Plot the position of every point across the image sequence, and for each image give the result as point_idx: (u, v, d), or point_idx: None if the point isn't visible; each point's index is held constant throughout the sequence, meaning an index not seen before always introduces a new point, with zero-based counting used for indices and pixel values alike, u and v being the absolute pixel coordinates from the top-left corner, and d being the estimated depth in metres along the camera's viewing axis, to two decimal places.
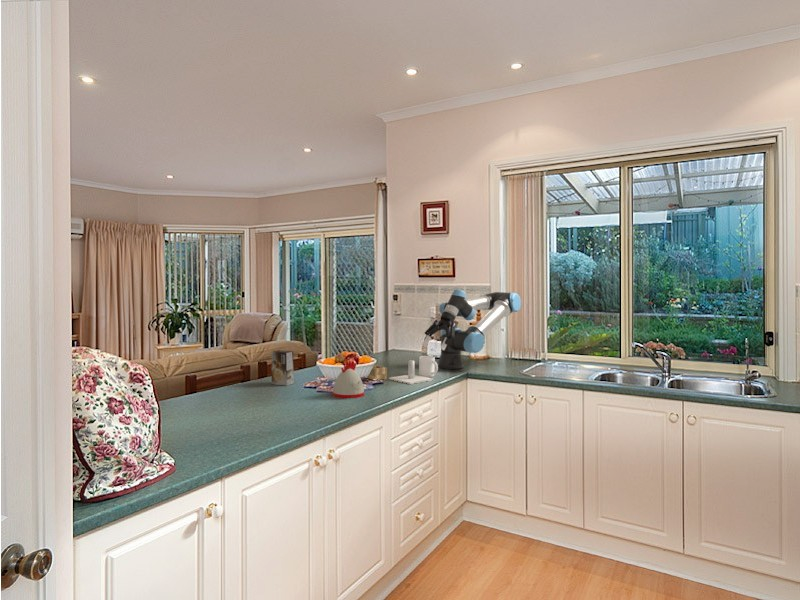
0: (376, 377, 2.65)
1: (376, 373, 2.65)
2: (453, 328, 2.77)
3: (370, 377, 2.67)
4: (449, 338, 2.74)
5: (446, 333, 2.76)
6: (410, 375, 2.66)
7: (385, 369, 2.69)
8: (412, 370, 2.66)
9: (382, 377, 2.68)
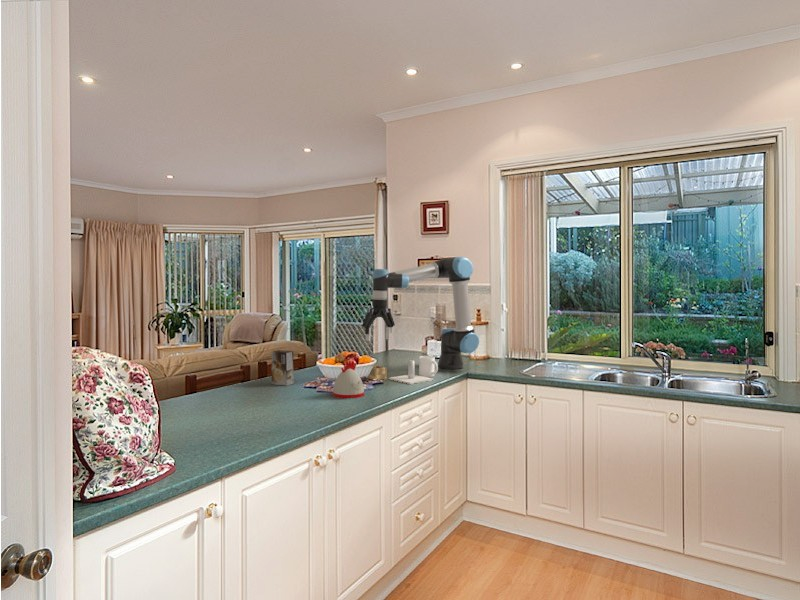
0: (376, 377, 2.65)
1: (376, 373, 2.65)
2: (367, 315, 2.63)
3: (370, 377, 2.67)
4: (365, 327, 2.63)
5: None
6: (410, 375, 2.66)
7: (385, 369, 2.69)
8: (412, 370, 2.66)
9: (382, 377, 2.68)
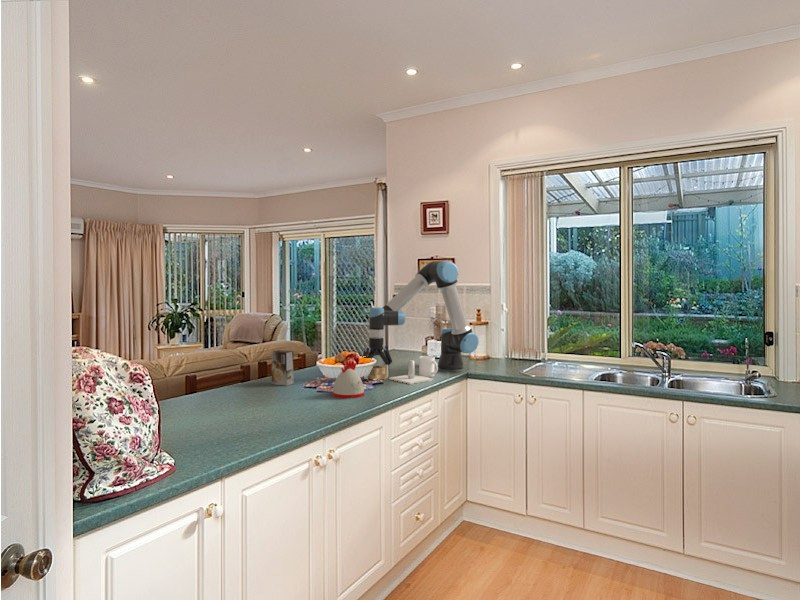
0: (376, 377, 2.65)
1: (376, 373, 2.65)
2: (364, 354, 2.64)
3: (370, 377, 2.67)
4: None
5: None
6: (410, 375, 2.66)
7: (385, 369, 2.69)
8: (412, 370, 2.66)
9: (382, 377, 2.68)
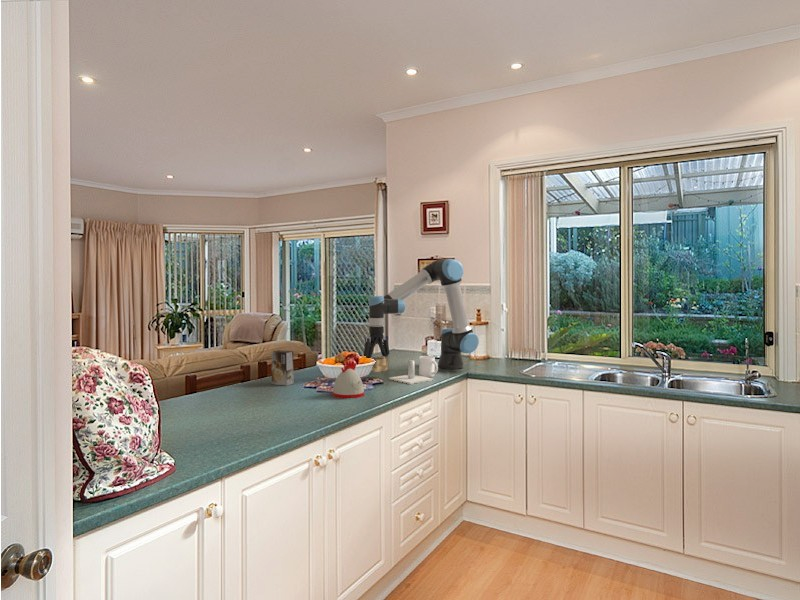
0: (377, 368, 2.65)
1: (377, 364, 2.65)
2: (366, 345, 2.65)
3: None
4: None
5: None
6: (410, 375, 2.66)
7: (386, 360, 2.69)
8: (412, 370, 2.66)
9: (383, 368, 2.68)
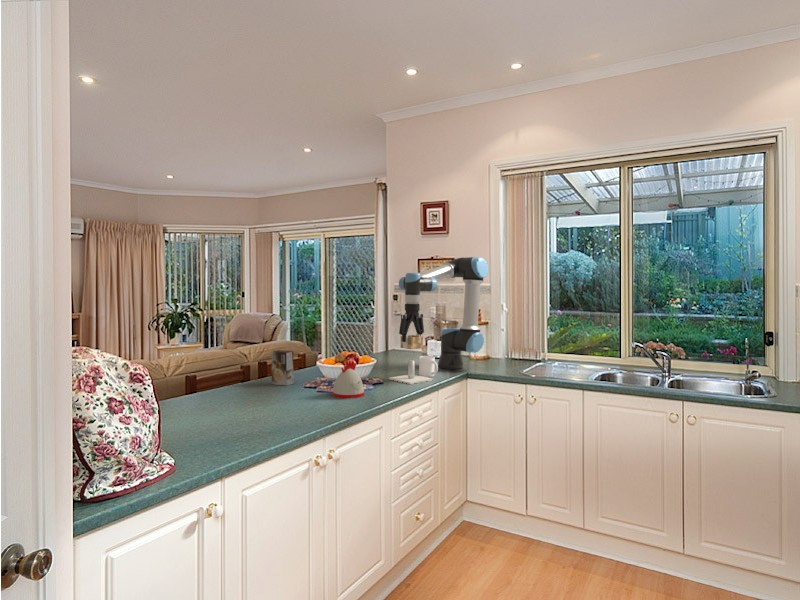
0: (412, 346, 2.62)
1: (412, 342, 2.62)
2: (402, 322, 2.62)
3: None
4: (402, 335, 2.63)
5: None
6: (410, 375, 2.66)
7: (421, 338, 2.66)
8: (412, 370, 2.66)
9: (418, 346, 2.64)
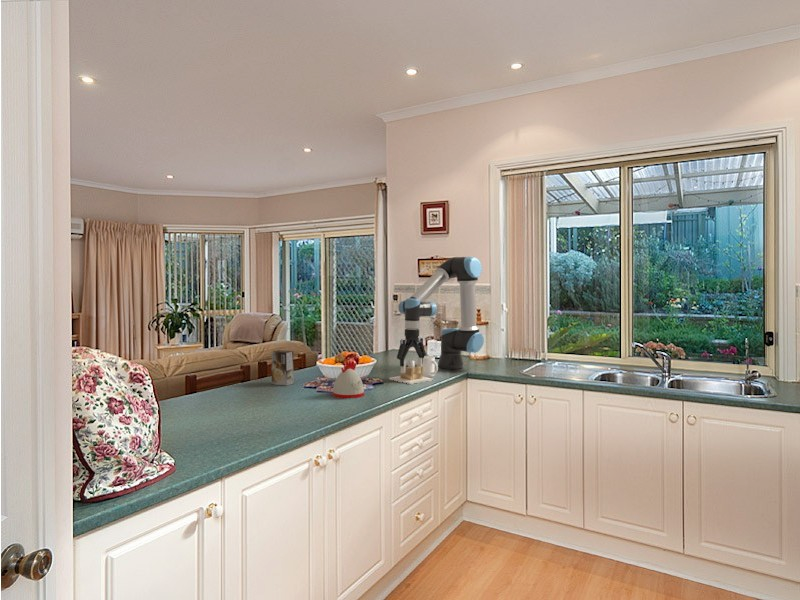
0: (412, 376, 2.62)
1: (412, 372, 2.62)
2: (401, 346, 2.62)
3: (406, 376, 2.64)
4: (400, 359, 2.62)
5: None
6: None
7: (421, 368, 2.66)
8: None
9: (418, 376, 2.65)
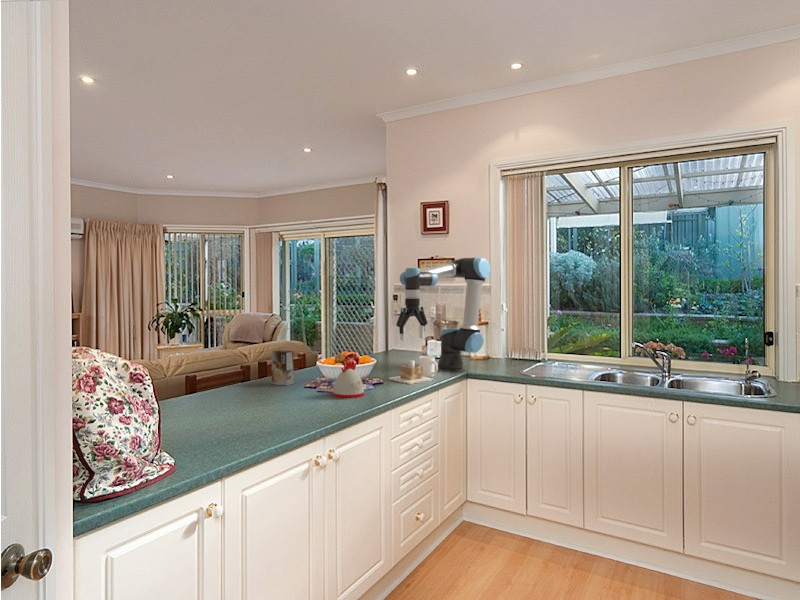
0: (412, 376, 2.62)
1: (412, 372, 2.62)
2: (401, 314, 2.63)
3: (406, 376, 2.64)
4: (399, 327, 2.63)
5: None
6: None
7: (421, 368, 2.66)
8: None
9: (418, 376, 2.65)
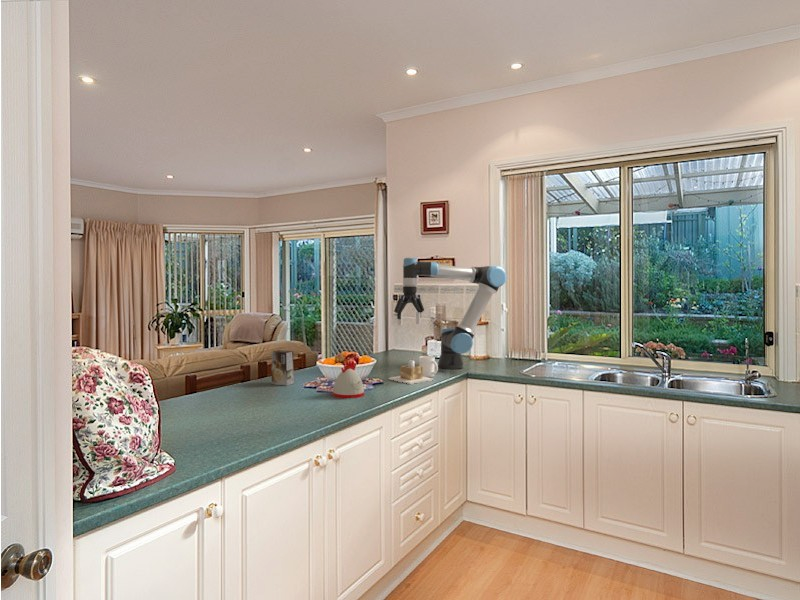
0: (412, 376, 2.62)
1: (412, 372, 2.62)
2: (399, 301, 2.81)
3: (406, 376, 2.64)
4: (397, 313, 2.81)
5: None
6: None
7: (421, 368, 2.66)
8: None
9: (418, 376, 2.65)
